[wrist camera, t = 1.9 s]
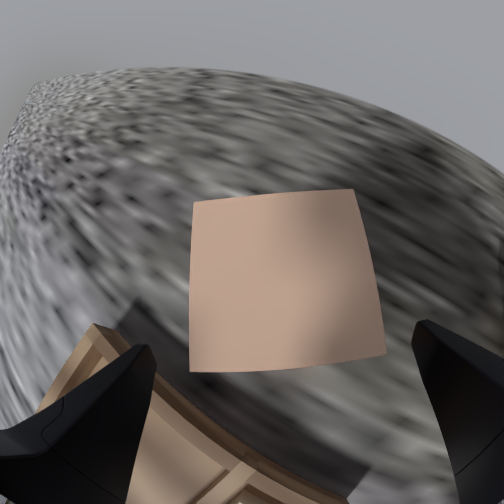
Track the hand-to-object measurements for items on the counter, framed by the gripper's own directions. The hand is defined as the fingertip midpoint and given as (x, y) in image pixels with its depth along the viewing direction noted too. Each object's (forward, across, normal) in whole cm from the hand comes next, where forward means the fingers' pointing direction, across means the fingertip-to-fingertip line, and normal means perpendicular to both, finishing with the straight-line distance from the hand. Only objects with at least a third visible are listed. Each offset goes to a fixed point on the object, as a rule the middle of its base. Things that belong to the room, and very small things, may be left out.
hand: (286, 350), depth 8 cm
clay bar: (+8, 0, +6) cm, 9 cm away
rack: (0, +8, +13) cm, 15 cm away
